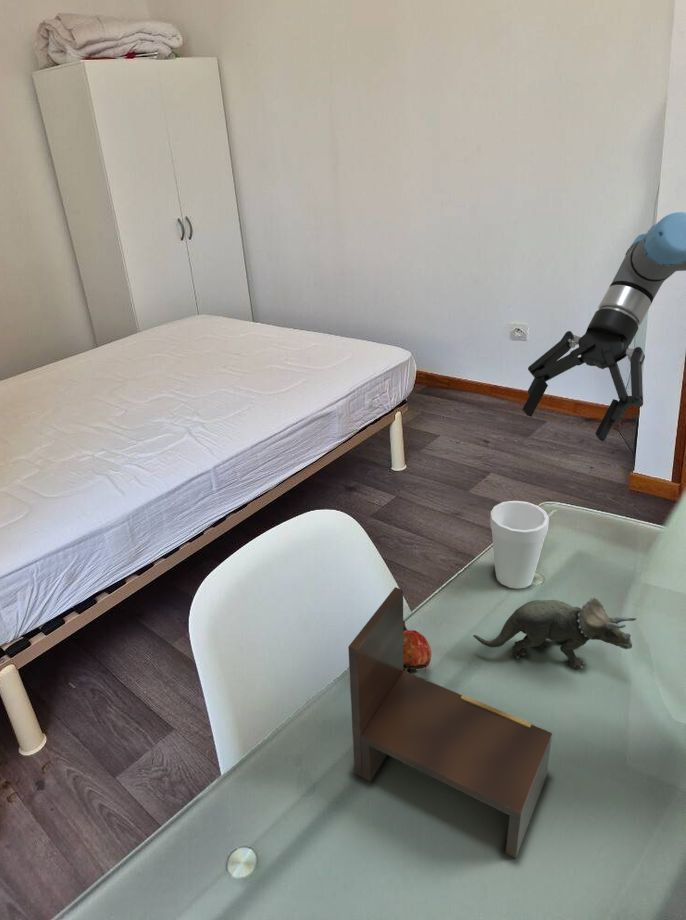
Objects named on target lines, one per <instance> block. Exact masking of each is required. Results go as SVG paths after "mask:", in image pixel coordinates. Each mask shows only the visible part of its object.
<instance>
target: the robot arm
mask: <svg viewBox="0 0 686 920" xmlns="http://www.w3.org/2000/svg"><path fill="white" fill-rule="evenodd" d="M624 255H625V256H624V257H623V260H622V262H621V263H620V266H619V268H618V269H617V271H616V274H615V275H614V277H613V279H612V281H611V283H610V285H609V287H608V288H607V290H606V292H605V294H604V295H603V297H602V299H601V301H600V303H599V305H598V306H597V309H598V310H596V311H595V312H594V314H593V316H592V318H591V320H590V322H589V324H588V326H587V328H586V331H585V333H584V334H583V335H582V336H578V335H575V334H573V332H572V331H571V330H568V331H566V332H565V333H564V335H563V336H562V338H561V339H560V340H559V341H558V342H557V343H556V344H554V345H553V346H552V347H551V348H549V350H547V351H546V352H545V353H543V354H542V355H541V356H540V357H539V358H537V359H536V360H535V361H534V362H533V363H531V364H530V365H528V367H527V370H528V372H529V373H530V374H531V375H532V377H533V380H532V382H531V384H530V386H529V387H528V389H527V394H528V395H529V396H528V398H527V400H526V401H525V403H524V405H523V407H522V411H523V412H524V413H525V415H526V416H527V417H530V418H532V416H533V415H534V413H535V411H536V409H537V407H538V406H539V403H540V401H541V400H542V398H543V396H544V394H545V392H546V390H547V389H548V387H549V384H548V383H547V382H548V381H550V380H551V379H553V378H555V377H557V376H559V375H561V374H563V373H565V372H567V371H569V370H571V369H572V368H575V367H576V366H581V365H583V364H585V365H586V366H589V367H597V368H598V369H601V370H604V369H608V370H609V373H610V376H611V379H612V382H613V385H614V388H615V391H616V394H617V399H615V398H612V401H611V402H610V404H609V406H608V408H607V410H606V412H605V414H604V416H603V417H602V419H601V421H600V423H599V425H598V427H597V429H596V431H595V436H596V437H597V439H598V440H599V441H602V442H605V441H606V438H607V437H608V436H609V433H610V431H611V429H612V427H613V425H614V424H617V425H619V424H620V423H621V422H622V420H623V418H624V416H625V414H626V412H627V410H628V409H629V408H630V407H636V408H641V407H643V406H644V391H643V390H644V389H643V370H642V369H643V368H642V367H643V364H644V361H645V358H646V354H645V353H644V350H643V349H642V347H641V346H636V347H635V348H629V347H630V345H631V344H632V342H633V340H634V338H635V337H636V334H637V333H638V330H639V326H641V324H642V323H643V322H644V319H645V317H646V315H647V314H648V311H649V309H650V307H651V306H652V303H653V302H654V299H655V297H656V295H657V294H658V293H659V290H660V288H661V287H662V285H663V283H664V282H665V281H666V280H667V279H669V278H670V277H672V276H673V274H675V273H676V272H685V271H686V212H683V211H679V212H677V211H676V212H672V213H669V214H667V215H665V216H663V217H662V218H661V219H660V220H659V221H657V222H656V223H655V224H653V225H652V226H651V227H650V228H649V229H648V230H647V232H646V233H641V234H638V236H636V237H635V239H634V240H633V242H632V243H631V245H630V247H629V248H627V250H626V252H625V254H624ZM577 345H578V347H577V348H576V346H577ZM571 349H573V350H571ZM570 350H571V351H570ZM569 351H570V352H569ZM568 352H569V354H567V353H568ZM625 358H627V359H628V361H629V362H630V363H629V364H630V365H629V367H630V387H631V395H629V394H628V392H627V388H626V386H625V382H624V380H623V377H622V374H621V369H620V367H619V364H618V362H621V361H622V360H623V359H625Z"/></svg>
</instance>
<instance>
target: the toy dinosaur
mask: <svg viewBox="0 0 686 920" xmlns="http://www.w3.org/2000/svg"><path fill="white" fill-rule="evenodd" d="M636 620H637V618H636V617H629V616H623V615H622V616H621V615H620V616H615V617H610V616H609V615H608V614H607V612H606V609H605V608H604V604H602V602H601V600H599V599H598V598H596V597H595V596H593V598H592V597H590V599H589V600H587V602H586V603H583V605H582V607H579V606H573V605H570V604H568V603H566V602H564V601H561V600H558V599H545V600H544V599H543V600H542V599H534V600H531V601H528V602H525V603H524V604H523V605H521V606H520V607H518V608H516V609H515V611H514V612H513V613H511V615H510V616H509V617H508V619H507V620H506V621H505V623H504V624H503V626H502V628H501V631H500V632H499V634H498V635H497V636H496V637H495V638H494V639H492V640H491V639H490V640H486V639H484V638H481V636H479V635H477V634H473V635H472V636H473V637H474V639H475V640H477V641H478V642H479V643H481V644H482V645H484V646H486V647H489V648H500V647H503V646H504V645H505V644H506V643H507V642H509V641H510V640H511V639H512V638H514V637H515V636H516V635H517V634H519V633H520V632H522V633H523V634H525V636H524V637H523V638H522V639H520V640H519V639H518V640H516V641H515V642H514V644H513V646H512V648H511V649H512V653H513V655H514V658H516V659H517V660H519V659H520V656H521V657H522V656H525V655H526V653H525V651H524V650H525V649H526V648H533V647H535V648H541V649H543V648H544V647H547V646H549V643H548V642H546V640H549V641H551V642H557V643H562V645H560V647H559V650H560V652H561V653H562V654H564V656H565V657H567V659H568V663H569V667H570V668H571V667H572V668H573V669H577V668H578V669H584V666H585V665H586V663H585V662H584V661H582V660H583V659H582V658H580V657H577V655H576V654H575V651H574V650H577V649H579V648H580V647H582V646H584V645H586V644H587V642H589V641H590V640H592V641H594V640H595V641H602V642H604V643H606V644H610V645H614V646H615V647H619V648H621V649H623V650H630V649H632V648H633V643H632V640H631V637H632V634H631V633H630V632H629V633H628V632H624V631H621V629H623V628H625V627H626V624H622V625H621V624H620V625H619V623H622V622H632V621H633V622H634V621H636Z"/></svg>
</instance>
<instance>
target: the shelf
mask: <svg viewBox="0 0 686 920" xmlns="http://www.w3.org/2000/svg"><path fill="white" fill-rule="evenodd" d="M403 621H404V589H401V588H399V587H395V586H394V588H393V589H392V590H391V592H390V593H389V594H388V595H387V597H386V598H385V599H384V600H383V602H382V603H381V604H380V605H379V607H378V608H377V609H376V611H375V612H374V613H373V614H372V616H371V617H370V618H369V620H368V621H367V622H366V623H365V624H364V626H363V627H362V628H361V630H359V632H358V633H357V635H356V636H355V637H354V639H353V640H352V641H351V643H350V644H349V645H348V666H349V667H348V669H349V689H350V707H351V708H350V709H351V729H352V750H353V769H354V770H353V771H354V775H356V776H358V777H360V778H362V779H364V780H365V781H367V782H369V783H371V782H372V781H373V779H374V777H375V776H376V774H377V772H378V771H379V769H380V768H381V766H382V764H383V762H384V761H385V759H386V758H387V756H389V757H391V758H392V759H395V760H397V761H399V762H401V763H403V764H405V765H407V766H409V767H411V768H412V769H413V768H414V769H415V770H417V771H419V772H421V773H423V774H424V775H427V776H429V777H431V778H433V779H435V780H437V781H439V782H441V783H443V784H446V785H447V786H449V787H451V788H454V789H456V790H458V791H460V792H462V793H464V794H465V795H467V796H469V797H471V798H474V799H475V800H478V801H480V802H481V803H483V804H486V805H488V806H489V807H492V808H494V809H495V810H497V811H500V812H502V813H503V814H505V815H508V817H509V818H508V826H507V827H508V828H507V835H506V836H507V837H506V846H505V854H506V855H507V856H510V857H512V858H513V859H515V860H516V859H517V857H518V854H519V851H520V848H521V846H522V843H523V840H524V838H525V835H526V833H527V830H528V827H529V825H530V823H531V819H532V816H533V815H534V811H535V808H536V806H537V803H538V800H539V797H540V796H541V793H542V790H543V787H544V784H545V781H546V779H547V776H548V767H549V761H550V753H551V744H552V737H553V732H551V731H548V730H546V729H543V728H542V727H539V726H536V725H534V724H532V723H531V722H529V721H526V720H524V719H521V718H519V717H517V716H515V715H512V714H510V713H507V712H506V711H503V710H500V709H498V708H496V707H493V706H492V705H488V704H486V703H483V702H482V701H479V700H477V699H474V698H472V697H469V696H467V695H464V694H460V693H458V692H456V691H453V690H451V689H449V688H446V687H444V686H442V685H439V684H436V683H434V682H432V681H430V680H427V679H425V678H422V677H420V676H418V675H415V674H413V673H410V672H408V671H407V672H406V671H405V670H404V668H403Z"/></svg>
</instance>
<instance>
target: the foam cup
mask: <svg viewBox="0 0 686 920" xmlns="http://www.w3.org/2000/svg"><path fill="white" fill-rule="evenodd" d="M489 515H490V517H489V525H490V529H491V534H492V535H491V538H492V539H491V540H492V547H493V548H492V549H493V561H494V570H495V576H496V581H498V582H499V583H500V585H503V586H505V587H507V588H509V589H516V590H520V589H526V588H528V587H529V586H530V585H532V583H533V580H534V577H535V574H536V570H537V567H538V563H539V560H540V556H541V552H542V549H543V546H544V541H545V538H546V536H547V533H548V531H549V522H550V518H549V516H548V513H547V511H545V510H544V509H543V508H542V507H540V506H539V505H537V504H534V503H531V502H529V501H522V500H508V501H502V502H500V503H498V504H495V505H494V506H493V508H492V510H490V514H489Z"/></svg>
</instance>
